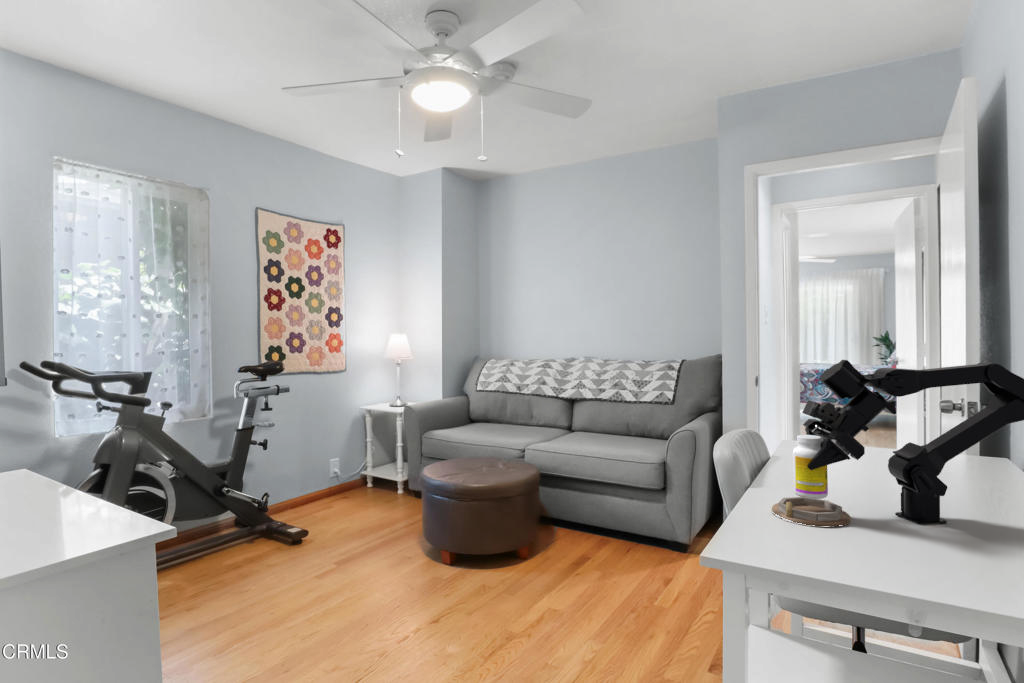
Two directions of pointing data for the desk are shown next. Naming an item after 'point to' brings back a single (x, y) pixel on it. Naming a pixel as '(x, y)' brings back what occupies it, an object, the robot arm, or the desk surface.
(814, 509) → the collar plate
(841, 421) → the robot arm
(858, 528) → the desk surface
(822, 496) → the supplement bottle
